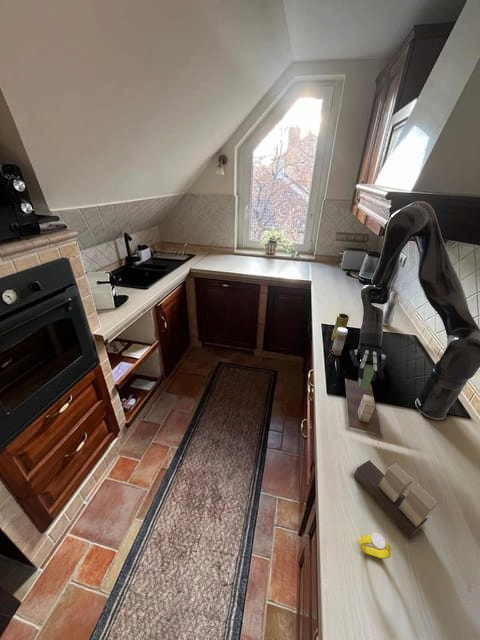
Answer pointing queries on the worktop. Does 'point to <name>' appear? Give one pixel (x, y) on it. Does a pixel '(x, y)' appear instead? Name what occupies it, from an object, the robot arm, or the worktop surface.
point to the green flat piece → (366, 376)
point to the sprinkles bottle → (339, 341)
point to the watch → (377, 543)
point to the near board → (355, 404)
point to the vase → (340, 324)
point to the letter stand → (397, 496)
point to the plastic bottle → (390, 308)
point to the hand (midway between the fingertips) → (366, 380)
